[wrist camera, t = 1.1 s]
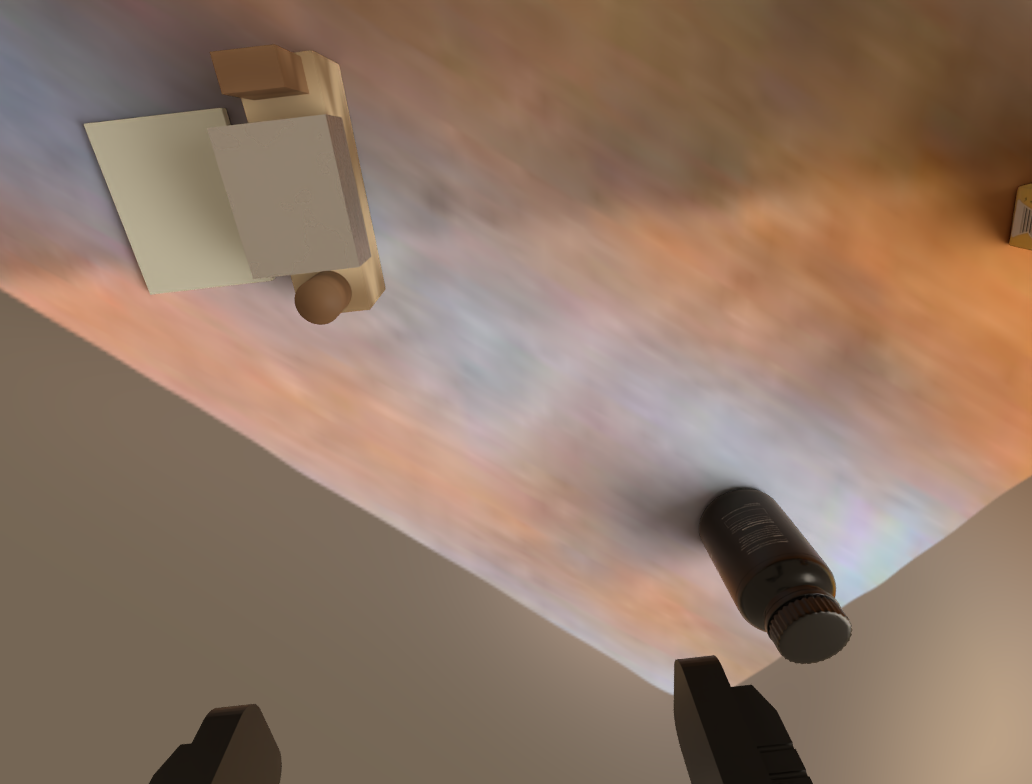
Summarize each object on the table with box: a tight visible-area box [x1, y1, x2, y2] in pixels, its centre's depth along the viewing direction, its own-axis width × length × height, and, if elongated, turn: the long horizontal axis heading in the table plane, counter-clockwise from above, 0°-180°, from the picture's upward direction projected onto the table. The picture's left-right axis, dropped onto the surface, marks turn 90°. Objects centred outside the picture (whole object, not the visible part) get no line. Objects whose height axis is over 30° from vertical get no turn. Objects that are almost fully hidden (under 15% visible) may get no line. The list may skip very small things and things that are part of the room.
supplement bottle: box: [699, 489, 852, 664], centre depth 40 cm, size 7×7×12 cm
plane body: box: [210, 44, 385, 325], centre depth 30 cm, size 13×4×8 cm, turn 6°
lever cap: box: [207, 114, 371, 279], centre depth 28 cm, size 7×6×3 cm
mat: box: [84, 108, 275, 295], centre depth 33 cm, size 10×8×1 cm
